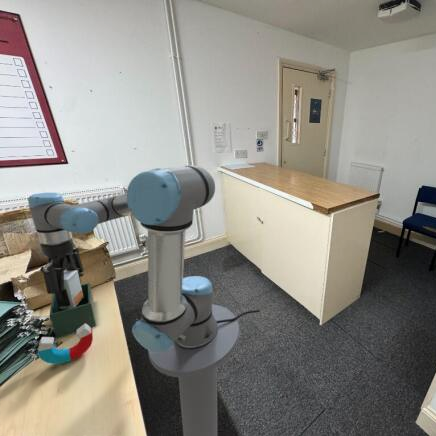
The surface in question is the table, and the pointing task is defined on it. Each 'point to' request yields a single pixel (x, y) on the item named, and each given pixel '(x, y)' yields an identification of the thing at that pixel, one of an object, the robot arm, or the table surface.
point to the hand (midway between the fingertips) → (71, 298)
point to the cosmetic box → (72, 288)
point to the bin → (73, 314)
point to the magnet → (64, 355)
